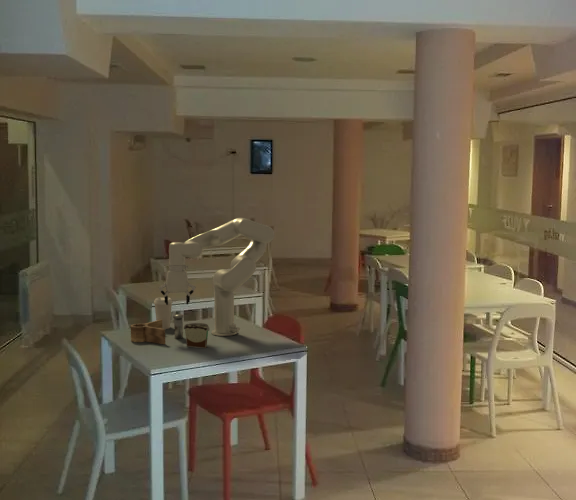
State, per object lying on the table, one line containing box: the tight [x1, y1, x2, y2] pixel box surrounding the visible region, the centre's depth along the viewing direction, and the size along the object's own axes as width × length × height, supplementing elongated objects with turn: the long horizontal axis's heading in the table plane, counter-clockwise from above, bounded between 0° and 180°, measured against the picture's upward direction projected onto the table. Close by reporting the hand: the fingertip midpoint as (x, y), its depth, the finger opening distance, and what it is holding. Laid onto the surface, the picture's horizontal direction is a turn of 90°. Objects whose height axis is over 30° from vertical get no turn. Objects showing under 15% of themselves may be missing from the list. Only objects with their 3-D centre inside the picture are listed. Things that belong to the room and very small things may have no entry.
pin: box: [172, 313, 184, 340], centre depth 344 cm, size 5×5×11 cm
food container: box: [183, 322, 210, 349], centre depth 329 cm, size 12×6×10 cm, turn 71°
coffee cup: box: [153, 296, 173, 330], centre depth 366 cm, size 10×10×15 cm
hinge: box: [130, 320, 166, 345], centre depth 342 cm, size 20×20×7 cm
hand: (177, 304), depth 343 cm, fingers open, 9 cm apart
